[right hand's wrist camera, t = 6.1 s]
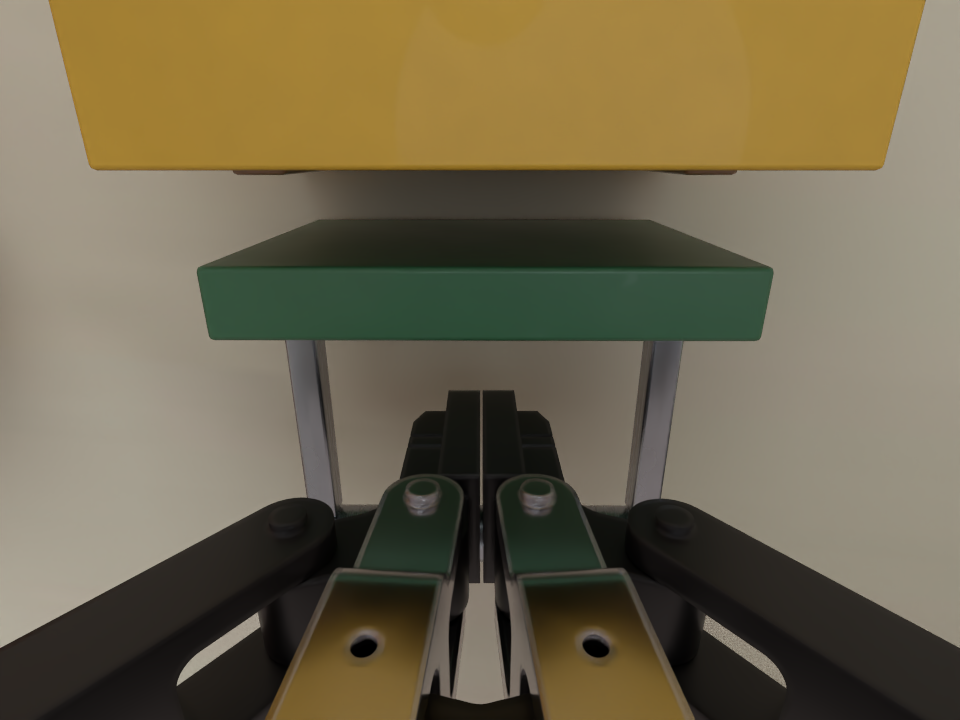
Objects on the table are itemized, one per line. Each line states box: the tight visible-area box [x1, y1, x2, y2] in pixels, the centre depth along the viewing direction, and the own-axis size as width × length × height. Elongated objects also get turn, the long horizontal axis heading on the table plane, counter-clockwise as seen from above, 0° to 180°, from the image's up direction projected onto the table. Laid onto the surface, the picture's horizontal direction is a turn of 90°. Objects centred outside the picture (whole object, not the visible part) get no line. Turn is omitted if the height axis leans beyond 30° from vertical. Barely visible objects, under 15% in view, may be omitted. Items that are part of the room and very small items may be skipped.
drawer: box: [197, 170, 773, 562], centre depth 10 cm, size 18×9×6 cm, turn 0°
